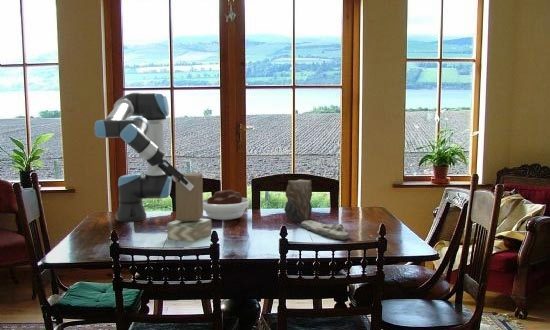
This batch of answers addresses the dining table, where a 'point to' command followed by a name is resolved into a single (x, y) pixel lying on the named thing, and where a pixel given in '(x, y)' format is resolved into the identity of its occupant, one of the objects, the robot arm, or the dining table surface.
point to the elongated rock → (327, 229)
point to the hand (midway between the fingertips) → (187, 186)
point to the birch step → (189, 230)
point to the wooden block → (189, 198)
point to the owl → (298, 200)
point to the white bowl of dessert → (225, 205)
